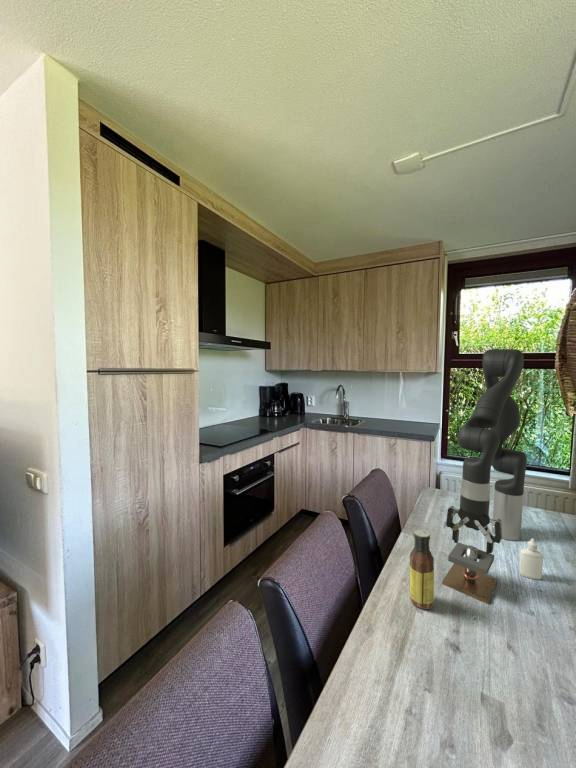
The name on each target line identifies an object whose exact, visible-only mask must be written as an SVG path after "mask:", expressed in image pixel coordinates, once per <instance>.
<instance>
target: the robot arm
mask: <svg viewBox="0 0 576 768" xmlns="http://www.w3.org/2000/svg"><path fill="white" fill-rule="evenodd" d="M524 358H525V357H524V354H523V352H522V351H521V350H520V349H515V348H505V349H503V348H498V349H497V348H496V349H495V348H494V349H493V348H492V349H487V350H486V351H484V353H483V356H482V361H481V362H482V364H481V365H482V371H483V375H484V376H483V377H484V382H485V386H486V390H485V392H483V393H482V394H481V395H480V397H479V398H478V399H477V402H476V405H475V406H474V410H473V413H472V414H471V415H470V417H469V419H468V420H467V421H466V422H465V423H464V424H463V425H462V426H461V428H460V429H459V431H458V433H457V436H456V437H457V438H456V439H457V440H456V441H457V444H458V446H459V447H460V448H461V449H463V450H466V451H472V452H476V453H482V456H481V457H468V458H465V459H464V460H463V463H462V478H461V483H460V495H459V496H460V497H459V509H457V508H455V507H454V506H453V505H451V506H450V507H448V509H447V512H446V522H445V526H446V527H447V528H451V531H452V536H451V537H452V538H451V539H452V541H453V542H454V544H457V543H458V542H459V539H460V538H459V537H460V528H462V527H463V526H465V527H466V528H468V529H473V530H475V531H478V532H479V531H480V533H481V534H482V535H483V536H484V537H485V539H486V548H485V549H486V551H485V552H486V554H488V555H489V554H492V553H493V551H494V546H495V545H494V544H495V543H497V544H500V543H501V541H502V539H503V540H508V541H519V540H520V539H521V535H522V534H521V533H522V522H523V521H522V519H523V506H524V490H525V489H524V488H525V478H526V470H527V462H528V457H527V454H526V453H525V452H524V451H520V450H514V449H509V448H504V447H503V445H504V443H505V442H506V441H507V439H508V438H509V437H511V436H512V435H513V434H514V433H515V432H516V431H517V429H518V428H519V425H520V420H521V419H520V417H521V416H520V407H519V404H518V403H517V402H516V401H515V399H514V398H513V396H511V395H510V394H511V392H512V390H513V389H514V388H515V385H516V384H517V382H518V380H519V378H520V377H521V374H522V371H523V369H524V363H525V362H524V360H525V359H524ZM500 378H501V379H500ZM492 468H493V470H494V471H496V472H499V473H502V474H507V475H512V476H513V477H511V478H508V479H499V480H496V481H495V483H494V492H493V493H494V494H493V506H492V507H493V510H492V518H491V517H490V515H489V514H490V501H491V485H490V484H491V483H490V482H491V469H492ZM456 514H457V516H458V517H459V519H460V520H459V521H457V522H456V523H454V516H456ZM489 524H490V525H491V529H490V527H489V526H488V525H489ZM493 534H494V535H493Z"/></svg>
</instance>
